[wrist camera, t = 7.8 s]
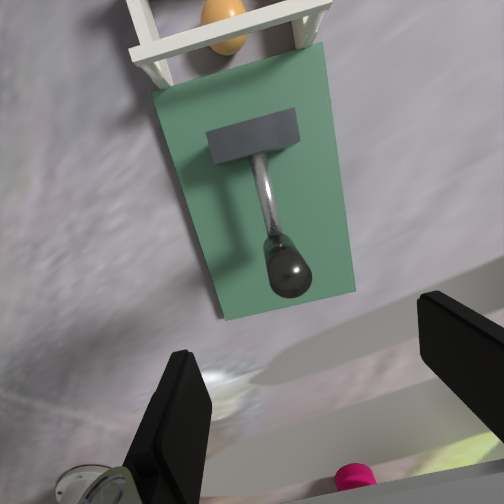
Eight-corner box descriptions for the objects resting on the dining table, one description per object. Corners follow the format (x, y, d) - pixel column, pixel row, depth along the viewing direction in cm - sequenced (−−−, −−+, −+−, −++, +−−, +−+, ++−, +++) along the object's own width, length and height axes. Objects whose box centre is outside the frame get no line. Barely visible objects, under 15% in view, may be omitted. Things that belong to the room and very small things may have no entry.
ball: (248, 40, 23) (256, 54, 21) (208, 52, 24) (211, 68, 21) (239, -21, 20) (246, -12, 18) (192, -6, 20) (193, 5, 18)
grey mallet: (308, 241, 27) (347, 285, 16) (245, 256, 27) (243, 309, 16) (285, 120, 23) (316, 75, 12) (213, 140, 23) (185, 113, 13)
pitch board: (351, 285, 30) (356, 291, 29) (226, 314, 31) (225, 320, 30) (317, 49, 23) (322, 41, 22) (156, 97, 24) (150, 92, 23)
